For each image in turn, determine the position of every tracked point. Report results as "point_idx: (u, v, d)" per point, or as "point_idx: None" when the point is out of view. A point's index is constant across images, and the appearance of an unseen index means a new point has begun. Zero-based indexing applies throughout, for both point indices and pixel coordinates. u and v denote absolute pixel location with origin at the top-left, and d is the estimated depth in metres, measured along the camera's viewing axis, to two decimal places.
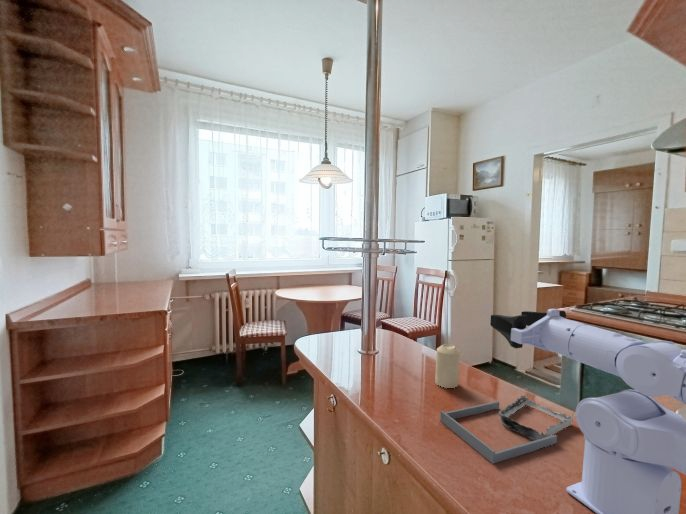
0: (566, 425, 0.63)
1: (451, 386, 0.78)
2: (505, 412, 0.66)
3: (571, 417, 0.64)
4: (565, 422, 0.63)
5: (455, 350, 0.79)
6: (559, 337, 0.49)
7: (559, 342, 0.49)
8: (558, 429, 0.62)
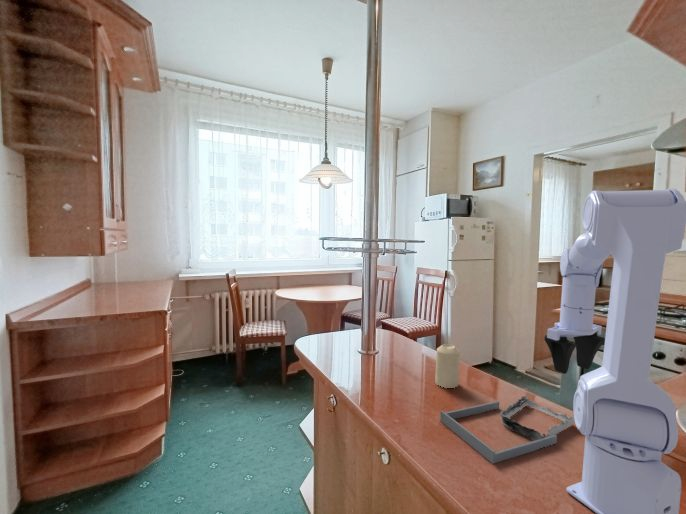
0: (567, 426, 0.63)
1: (451, 386, 0.78)
2: (506, 413, 0.65)
3: (572, 418, 0.64)
4: (566, 423, 0.62)
5: (455, 350, 0.79)
6: (564, 314, 0.67)
7: (568, 314, 0.67)
8: (559, 430, 0.61)
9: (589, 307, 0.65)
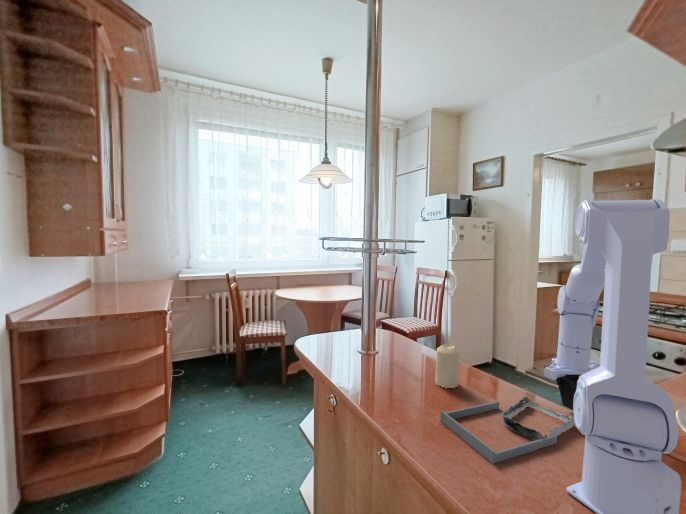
0: (569, 426, 0.63)
1: (451, 386, 0.78)
2: (508, 413, 0.65)
3: None
4: (568, 423, 0.62)
5: (455, 350, 0.79)
6: (561, 352, 0.68)
7: (565, 352, 0.67)
8: (561, 431, 0.61)
9: (586, 347, 0.65)
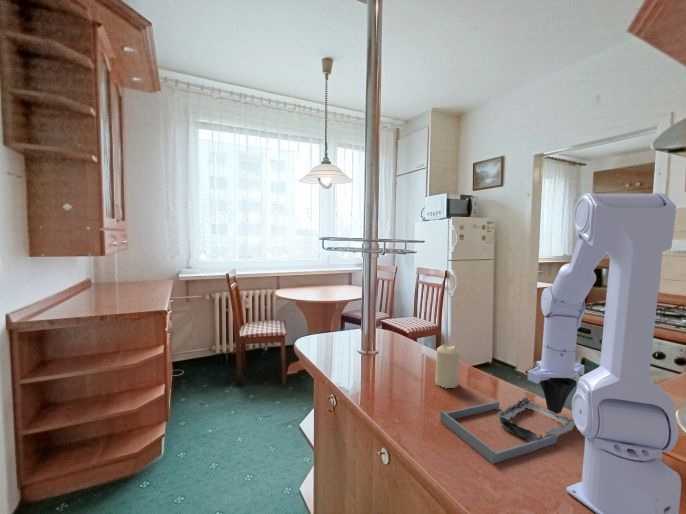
0: (568, 428, 0.62)
1: (451, 386, 0.78)
2: (505, 414, 0.65)
3: (573, 420, 0.62)
4: (566, 425, 0.61)
5: (455, 350, 0.79)
6: (546, 354, 0.66)
7: (549, 355, 0.65)
8: (559, 432, 0.60)
9: (572, 349, 0.64)
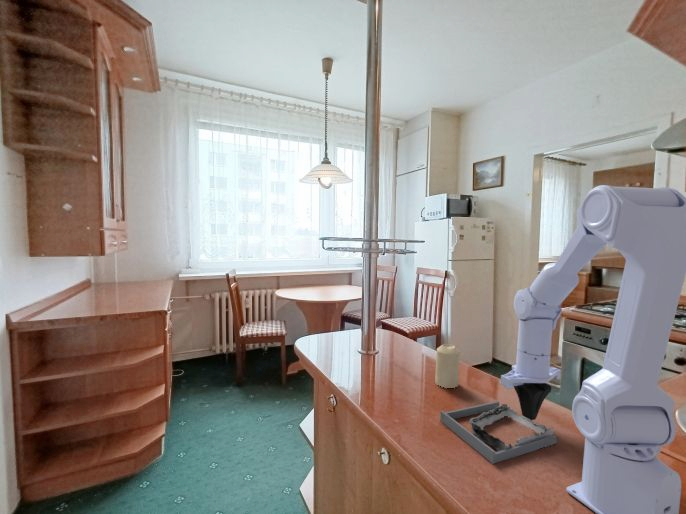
0: None
1: (451, 386, 0.78)
2: (478, 420, 0.62)
3: (550, 430, 0.59)
4: (542, 435, 0.58)
5: (455, 350, 0.79)
6: (520, 358, 0.63)
7: (523, 359, 0.62)
8: None
9: (549, 352, 0.61)
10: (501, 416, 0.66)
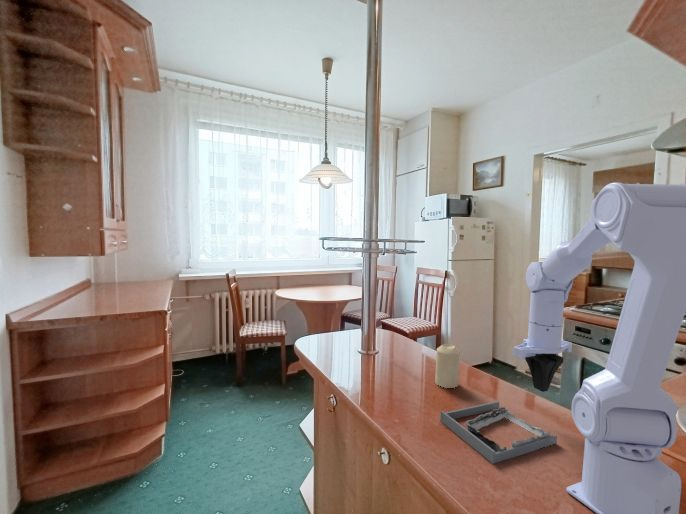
0: None
1: (451, 386, 0.78)
2: (474, 422, 0.61)
3: (548, 433, 0.58)
4: (539, 438, 0.57)
5: (455, 350, 0.79)
6: (532, 330, 0.64)
7: (535, 331, 0.63)
8: None
9: (560, 324, 0.62)
10: (499, 419, 0.65)
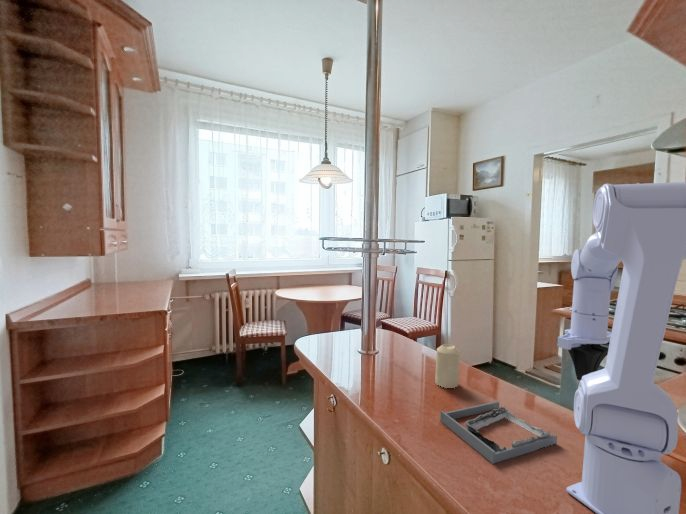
0: None
1: (451, 386, 0.78)
2: (474, 422, 0.61)
3: (548, 433, 0.58)
4: (539, 438, 0.57)
5: (455, 350, 0.79)
6: (576, 320, 0.62)
7: (580, 320, 0.61)
8: None
9: (603, 313, 0.59)
10: (498, 419, 0.65)
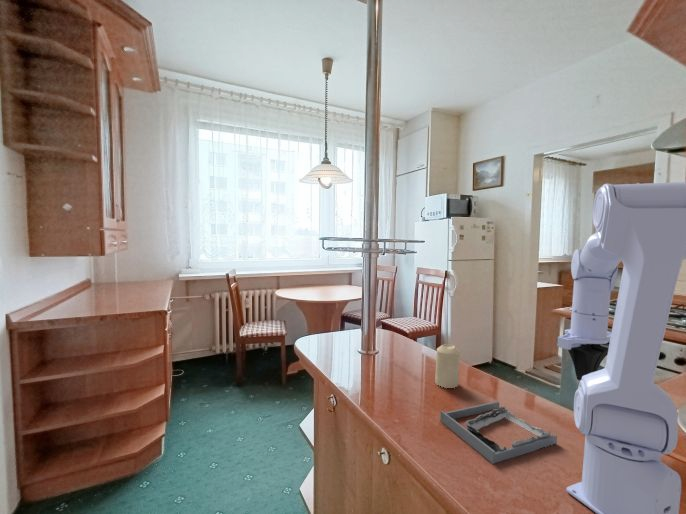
0: None
1: (451, 386, 0.78)
2: (474, 422, 0.61)
3: (548, 433, 0.58)
4: (539, 438, 0.57)
5: (455, 350, 0.79)
6: (576, 320, 0.62)
7: (580, 320, 0.61)
8: None
9: (603, 313, 0.59)
10: (498, 419, 0.65)
